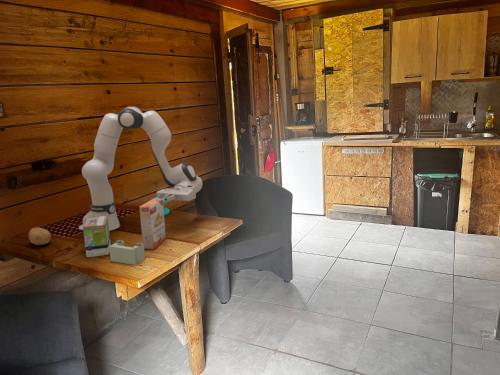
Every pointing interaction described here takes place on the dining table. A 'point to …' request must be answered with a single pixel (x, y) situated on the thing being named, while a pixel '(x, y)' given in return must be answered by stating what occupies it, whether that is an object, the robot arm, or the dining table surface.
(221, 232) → the dining table surface
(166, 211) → the donuts
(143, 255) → the pale green block
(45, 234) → the potato
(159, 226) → the cracker box
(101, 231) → the tea box
